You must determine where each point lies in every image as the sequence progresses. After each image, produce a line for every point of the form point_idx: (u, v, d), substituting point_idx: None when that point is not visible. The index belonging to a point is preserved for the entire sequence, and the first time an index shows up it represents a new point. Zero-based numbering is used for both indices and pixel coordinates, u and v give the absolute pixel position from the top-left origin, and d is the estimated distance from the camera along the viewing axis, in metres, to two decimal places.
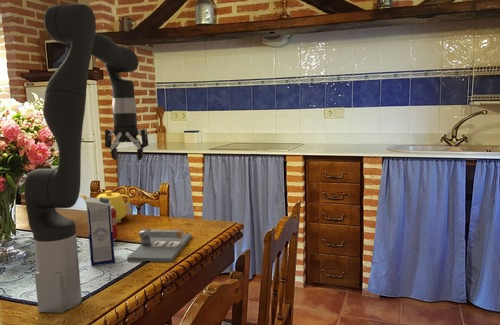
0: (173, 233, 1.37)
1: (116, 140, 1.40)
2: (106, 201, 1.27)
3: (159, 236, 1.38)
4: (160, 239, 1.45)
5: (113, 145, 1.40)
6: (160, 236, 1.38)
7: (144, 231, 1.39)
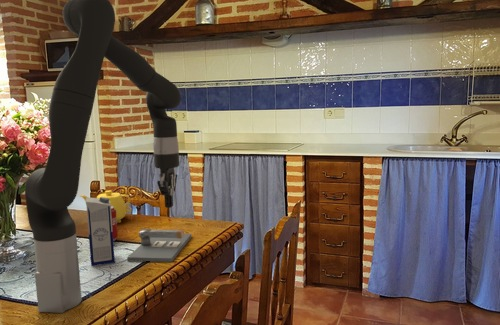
0: (173, 233, 1.37)
1: (172, 183, 1.28)
2: (106, 201, 1.27)
3: (159, 236, 1.38)
4: (160, 239, 1.45)
5: (171, 190, 1.28)
6: (160, 236, 1.38)
7: (144, 231, 1.39)
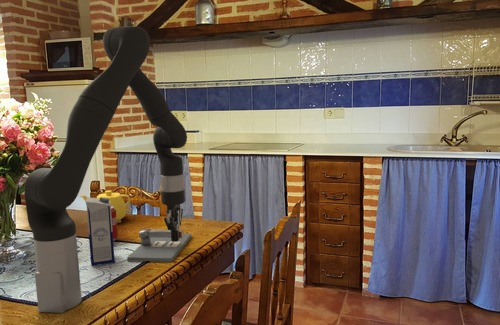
0: None
1: (178, 219, 1.33)
2: (106, 201, 1.27)
3: (159, 236, 1.38)
4: (160, 239, 1.45)
5: (177, 225, 1.34)
6: (160, 236, 1.38)
7: (144, 231, 1.39)
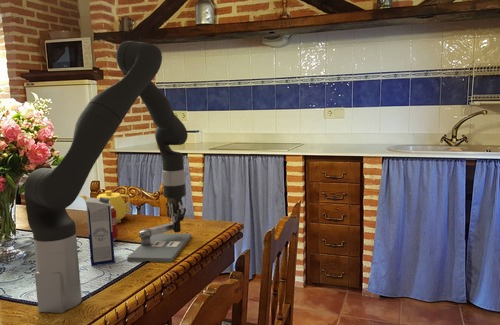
0: (172, 225, 1.46)
1: None
2: (106, 201, 1.27)
3: (160, 232, 1.43)
4: (160, 239, 1.45)
5: None
6: (161, 231, 1.43)
7: (146, 230, 1.39)
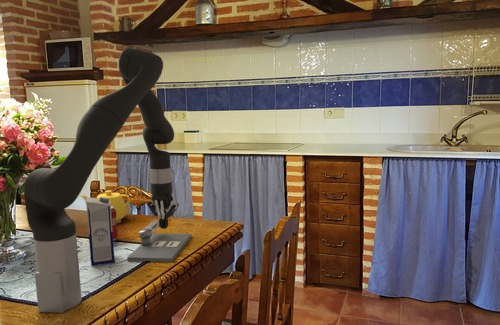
0: (158, 223, 1.49)
1: None
2: (106, 201, 1.27)
3: (153, 230, 1.45)
4: (160, 239, 1.45)
5: None
6: (154, 230, 1.45)
7: (147, 230, 1.39)
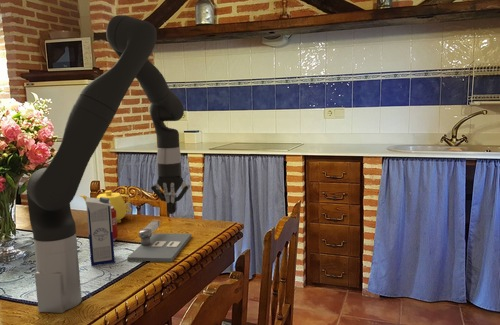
0: (157, 223, 1.49)
1: None
2: (106, 201, 1.27)
3: (153, 230, 1.45)
4: (160, 239, 1.45)
5: None
6: (154, 230, 1.45)
7: (147, 230, 1.39)
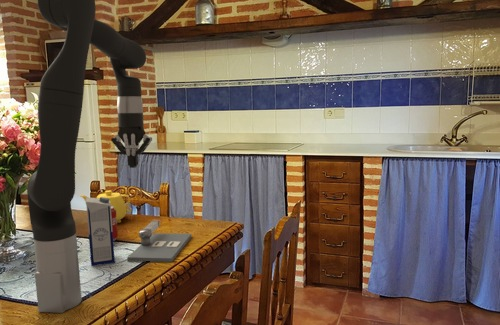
0: (157, 223, 1.49)
1: None
2: (106, 201, 1.27)
3: (153, 230, 1.45)
4: (160, 239, 1.45)
5: None
6: (154, 230, 1.45)
7: (147, 230, 1.39)
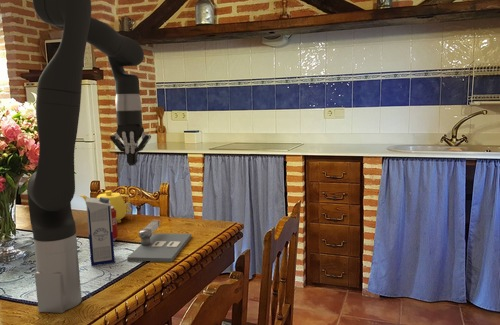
0: (157, 223, 1.49)
1: None
2: (106, 201, 1.27)
3: (153, 230, 1.45)
4: (160, 239, 1.45)
5: None
6: (154, 230, 1.45)
7: (147, 230, 1.39)
